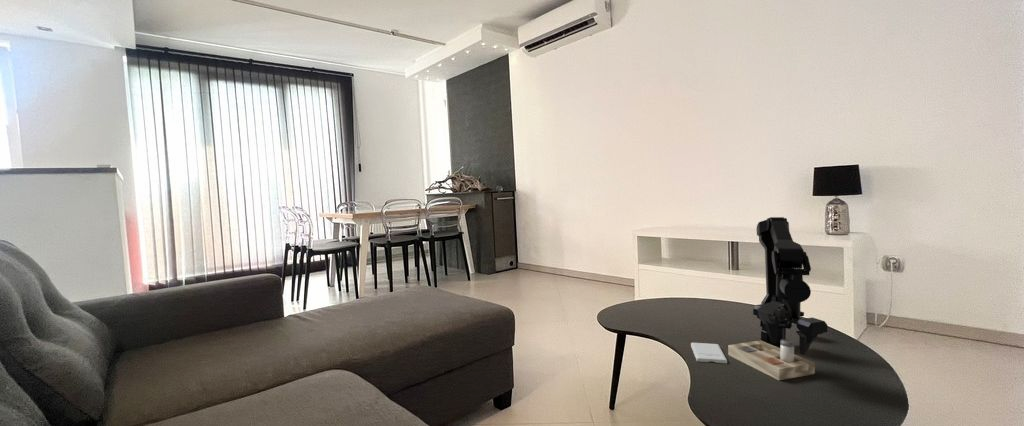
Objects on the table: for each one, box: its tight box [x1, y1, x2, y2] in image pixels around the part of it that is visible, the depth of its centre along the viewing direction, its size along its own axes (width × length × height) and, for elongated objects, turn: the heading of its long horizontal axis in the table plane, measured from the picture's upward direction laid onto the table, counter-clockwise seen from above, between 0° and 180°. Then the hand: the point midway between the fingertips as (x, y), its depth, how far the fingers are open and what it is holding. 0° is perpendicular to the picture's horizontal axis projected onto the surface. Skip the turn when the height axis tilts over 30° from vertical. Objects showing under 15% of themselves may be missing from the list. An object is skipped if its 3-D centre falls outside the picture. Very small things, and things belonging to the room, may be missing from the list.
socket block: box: [727, 339, 816, 381], centre depth 126 cm, size 12×18×3 cm, turn 15°
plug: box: [780, 338, 795, 363], centre depth 121 cm, size 3×3×8 cm
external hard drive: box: [690, 342, 728, 364], centre depth 134 cm, size 2×8×12 cm
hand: (787, 348), depth 121 cm, fingers open, 9 cm apart
